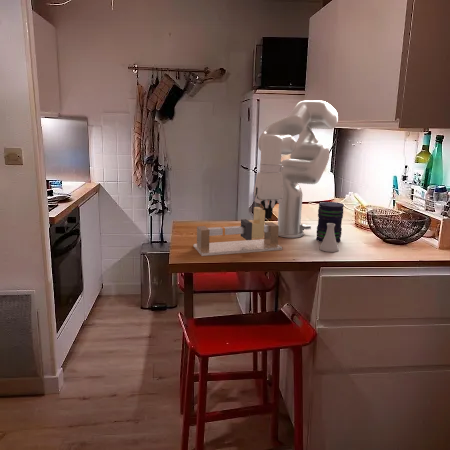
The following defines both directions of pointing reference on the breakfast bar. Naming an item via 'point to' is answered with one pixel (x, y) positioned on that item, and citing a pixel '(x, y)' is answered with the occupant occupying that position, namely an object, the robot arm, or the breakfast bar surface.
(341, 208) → the storage jar
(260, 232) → the wooden block
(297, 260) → the breakfast bar surface
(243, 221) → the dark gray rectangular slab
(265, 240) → the pipe rig
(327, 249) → the flask
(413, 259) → the breakfast bar surface
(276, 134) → the robot arm
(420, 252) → the breakfast bar surface
